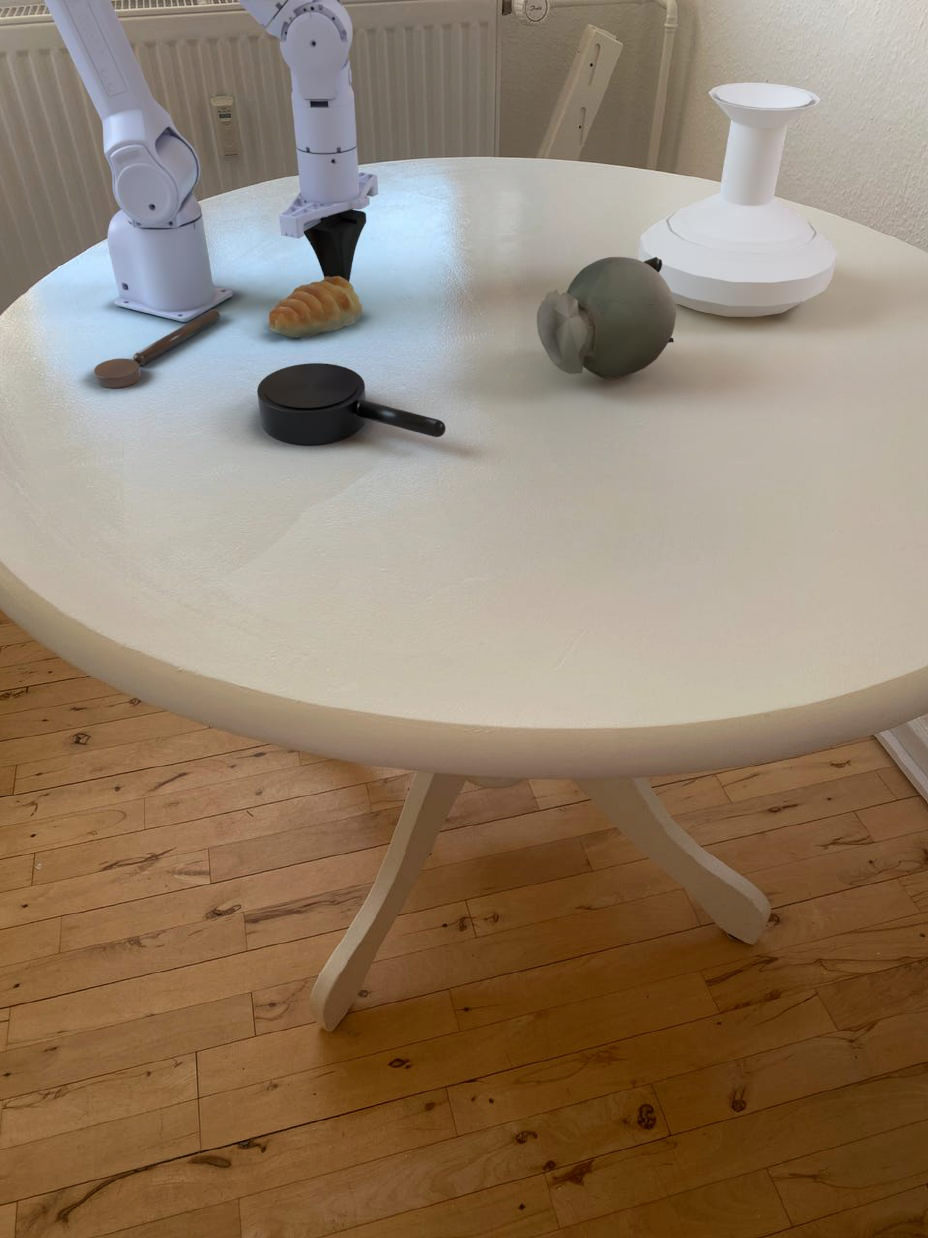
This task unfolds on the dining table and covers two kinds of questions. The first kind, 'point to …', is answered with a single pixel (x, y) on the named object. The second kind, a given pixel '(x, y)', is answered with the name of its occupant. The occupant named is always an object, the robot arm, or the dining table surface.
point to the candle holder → (745, 219)
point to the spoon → (148, 354)
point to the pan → (326, 406)
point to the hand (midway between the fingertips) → (337, 286)
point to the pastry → (316, 308)
